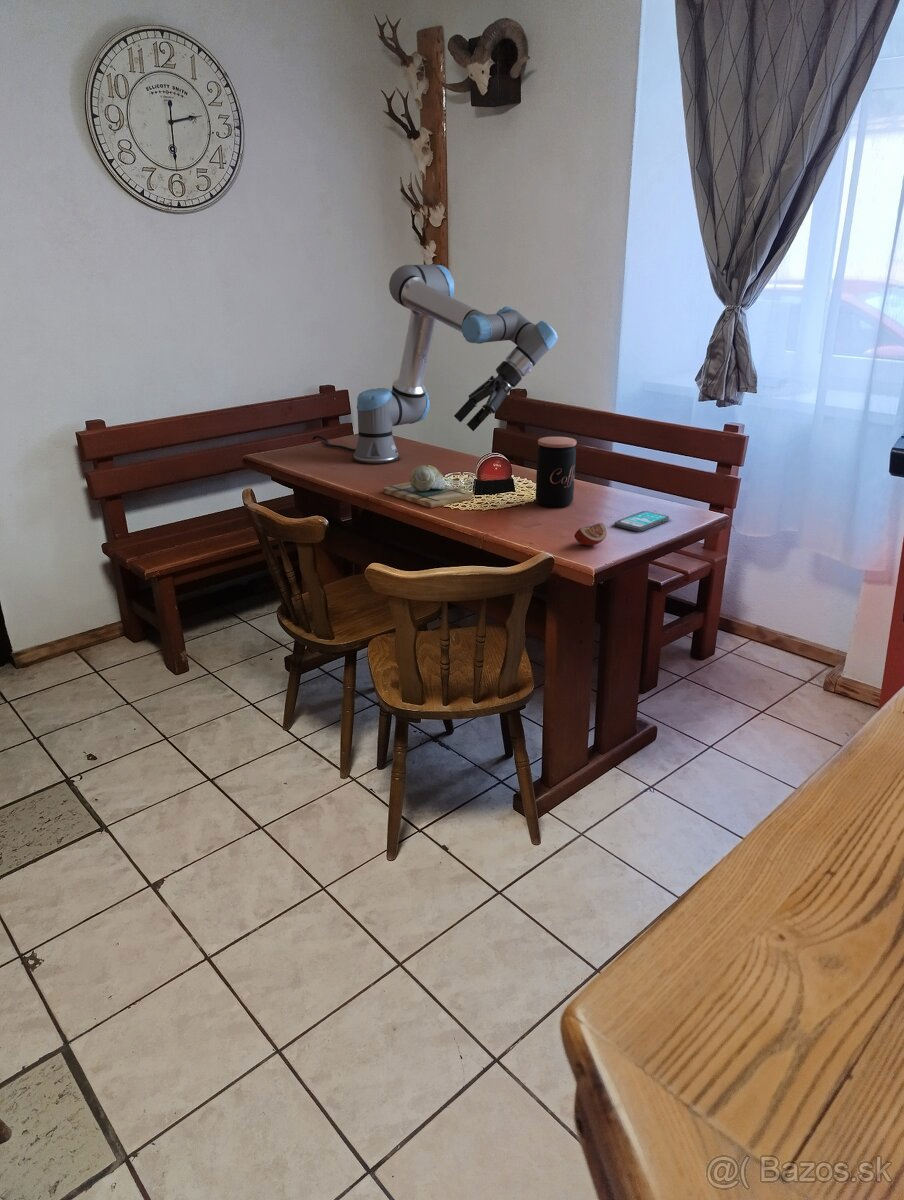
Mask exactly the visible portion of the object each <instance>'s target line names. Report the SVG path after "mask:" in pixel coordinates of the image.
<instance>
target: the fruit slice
mask: <svg viewBox="0 0 904 1200" xmlns="http://www.w3.org/2000/svg"><path fill="white" fill-rule="evenodd" d="M607 534H608V533H607V529H606V527H605V525H604V524H603V522H599V523H595V524H593V525H592V526H590V525H587V526H583V527H580V528H578V530H576V532H575V533H574V535H573V537H574V539H575V540H576V541H577V543H579V544H581V545H583V546H596V545H598V544H601V542H603V541H604V540H605V539H606V537H607Z"/></svg>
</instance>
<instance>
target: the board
mask: <svg viewBox="0 0 904 1200" xmlns="http://www.w3.org/2000/svg"><path fill="white" fill-rule="evenodd" d="M382 493H383V494H386V495H389V496H392V497H396V498H398V499H402V500H405V501H408V502H411V503H414V504H417V505H421V506H423V507H426V508H430V509H433V508H437V507H441V506H445V505H448V504H453V503H457V502H461V501H465V500H469V499H473V498H474V497H473V496H474V495H473V493H474V492H471V491H468V490H464V489H461V488H457V487H454V486H450V485H446V484H445V489H432V488H431V489H430V490H428V491H423V492H422V491H417V490H415V489H414V488H413V487H412V486H411V483H410V481H408V482H403V483H399V484H394V485H389V486H386V487H385V486H384V487H382Z"/></svg>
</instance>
